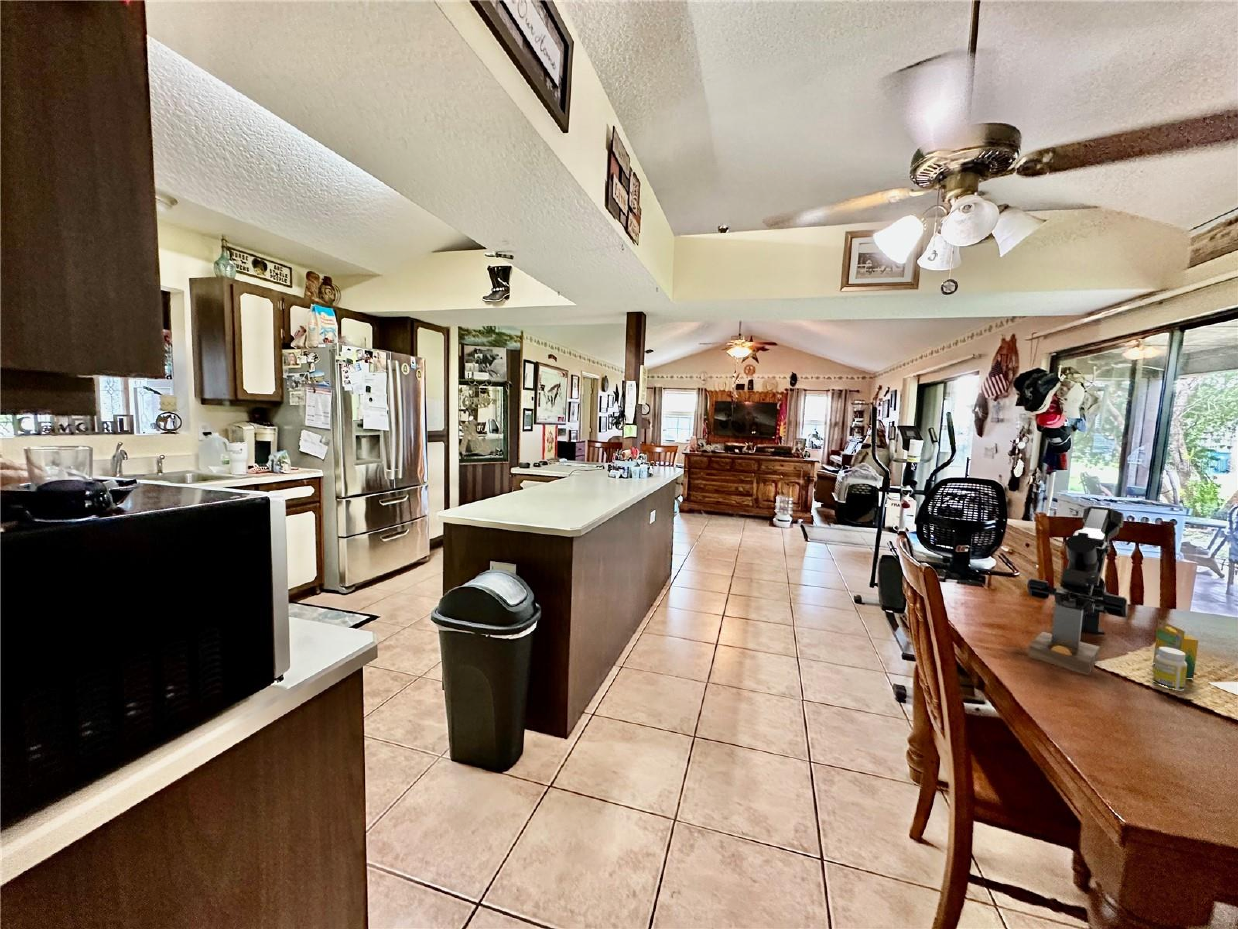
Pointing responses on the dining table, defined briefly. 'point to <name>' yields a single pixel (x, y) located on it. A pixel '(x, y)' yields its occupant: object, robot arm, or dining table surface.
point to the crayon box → (1177, 644)
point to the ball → (1061, 650)
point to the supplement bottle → (1170, 668)
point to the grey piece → (1067, 624)
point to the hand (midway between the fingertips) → (1068, 624)
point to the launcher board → (1077, 661)
